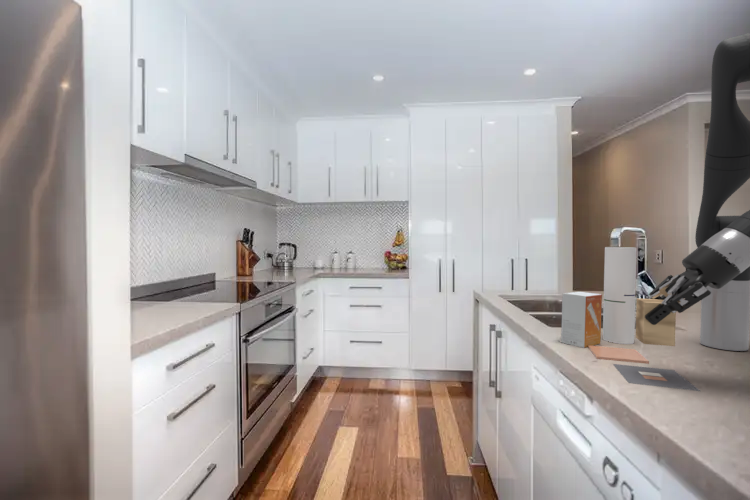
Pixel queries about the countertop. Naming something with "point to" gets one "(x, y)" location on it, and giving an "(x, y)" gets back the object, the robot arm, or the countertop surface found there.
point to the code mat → (654, 377)
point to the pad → (617, 354)
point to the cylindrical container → (619, 294)
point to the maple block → (654, 333)
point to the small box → (581, 319)
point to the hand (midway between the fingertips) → (644, 317)
